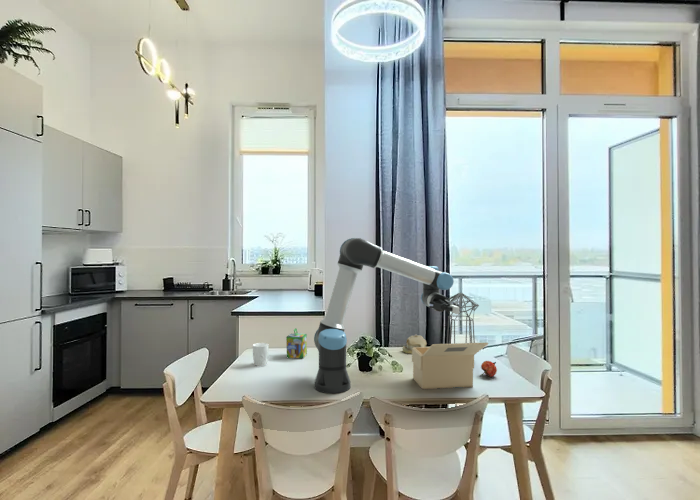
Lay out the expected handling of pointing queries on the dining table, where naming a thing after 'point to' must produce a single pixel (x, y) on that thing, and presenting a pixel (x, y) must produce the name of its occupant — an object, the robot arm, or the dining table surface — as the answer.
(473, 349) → the lid flap
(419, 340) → the ceramic model
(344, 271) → the robot arm
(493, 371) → the pomegranate
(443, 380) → the carton
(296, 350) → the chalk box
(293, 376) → the dining table surface
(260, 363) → the white cup
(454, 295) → the geometric lantern
